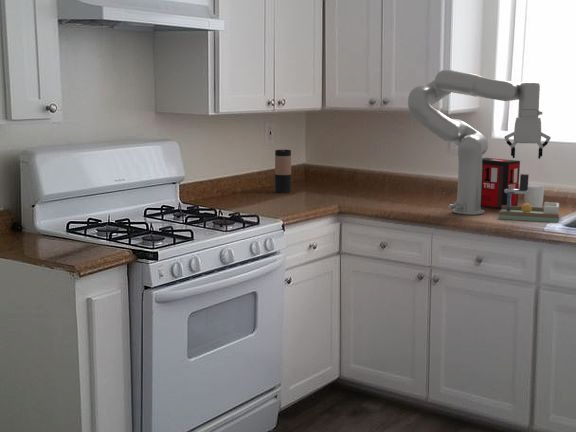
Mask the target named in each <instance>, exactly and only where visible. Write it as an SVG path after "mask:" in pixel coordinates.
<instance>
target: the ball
mask: <svg viewBox="0 0 576 432" xmlns="http://www.w3.org/2000/svg"><path fill="white" fill-rule="evenodd" d="M521 206H522V207H521V209H522V211H523V212H529V213H530V212H531V210H532V206H531V205H530V204H528V203H525V202H524V203H523V204H522V205H521Z"/></svg>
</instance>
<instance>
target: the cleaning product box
mask: <svg viewBox="0 0 576 432" xmlns="http://www.w3.org/2000/svg"><path fill="white" fill-rule="evenodd" d="M520 165H521V160H516V159H515V160H514V159H506V158H505V159H503V158H491V157H482V190H481V208H482V207H483V208H490V209H494V210H495V209H497V210H501V208H502V205H507V195H508V193H505V192H504V190H505V189H520V167H521V166H520ZM518 200H519V194H511V206H519V201H518Z"/></svg>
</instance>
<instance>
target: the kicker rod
mask: <svg viewBox="0 0 576 432" xmlns="http://www.w3.org/2000/svg"><path fill="white" fill-rule="evenodd" d="M529 177H530V175H529V173H520V174H519V189H505V190H504V192H505V193H508V195H507V211H510V210H511V194H518V195H525V194H527V190H528V185H529Z"/></svg>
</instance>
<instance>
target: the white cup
mask: <svg viewBox="0 0 576 432" xmlns="http://www.w3.org/2000/svg"><path fill="white" fill-rule="evenodd" d="M544 193H545V185H541V184H540V185H539V184H528V190H527V194H524V204H525V203H528V204H530V205H531V206H532V207H543V202H544V196H545V194H544Z"/></svg>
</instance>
